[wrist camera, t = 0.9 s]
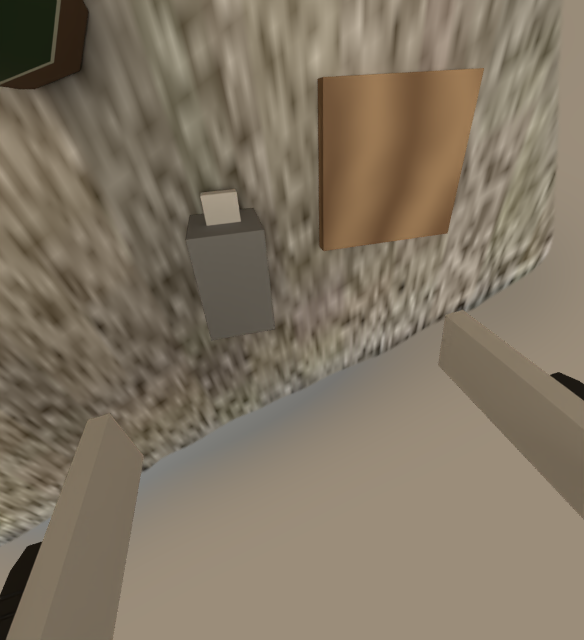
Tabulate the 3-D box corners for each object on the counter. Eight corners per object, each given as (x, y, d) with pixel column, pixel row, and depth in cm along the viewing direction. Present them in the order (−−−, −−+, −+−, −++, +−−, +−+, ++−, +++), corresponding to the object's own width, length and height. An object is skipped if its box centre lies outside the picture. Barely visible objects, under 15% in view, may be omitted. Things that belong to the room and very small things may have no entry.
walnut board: (319, 246, 28) (323, 250, 27) (317, 78, 21) (323, 77, 21) (439, 229, 30) (447, 233, 29) (472, 70, 23) (484, 68, 22)
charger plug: (210, 302, 29) (211, 340, 24) (183, 187, 23) (177, 207, 18) (263, 293, 30) (275, 329, 25) (249, 180, 24) (260, 197, 19)
